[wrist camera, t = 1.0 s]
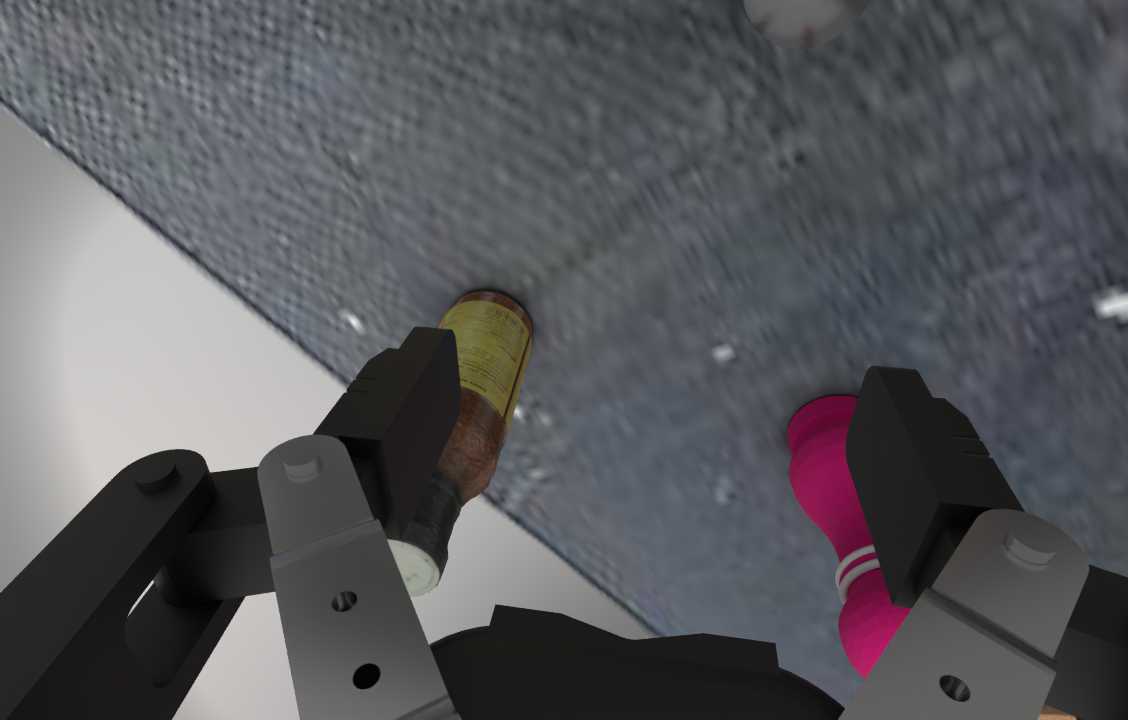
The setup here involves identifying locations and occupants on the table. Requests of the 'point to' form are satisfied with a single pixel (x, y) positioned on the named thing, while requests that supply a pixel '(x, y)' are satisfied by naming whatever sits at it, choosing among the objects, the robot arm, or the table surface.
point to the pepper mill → (842, 527)
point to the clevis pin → (802, 20)
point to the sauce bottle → (468, 428)
